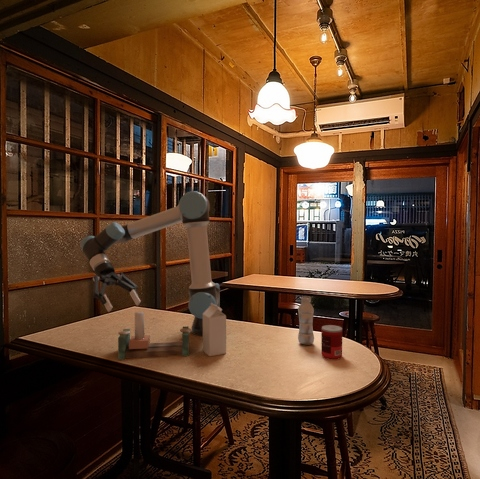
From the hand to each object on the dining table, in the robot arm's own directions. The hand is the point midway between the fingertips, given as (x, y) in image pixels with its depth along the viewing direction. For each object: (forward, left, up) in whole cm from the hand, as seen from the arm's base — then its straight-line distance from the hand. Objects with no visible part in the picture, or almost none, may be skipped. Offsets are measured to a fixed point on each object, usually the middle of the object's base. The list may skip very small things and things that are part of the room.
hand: (125, 306), depth 142 cm
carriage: (-6, +5, -15) cm, 17 cm away
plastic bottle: (-74, +5, -18) cm, 76 cm away
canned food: (-79, +20, -18) cm, 84 cm away
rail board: (-12, +5, -17) cm, 22 cm away
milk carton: (-35, +9, -18) cm, 40 cm away
